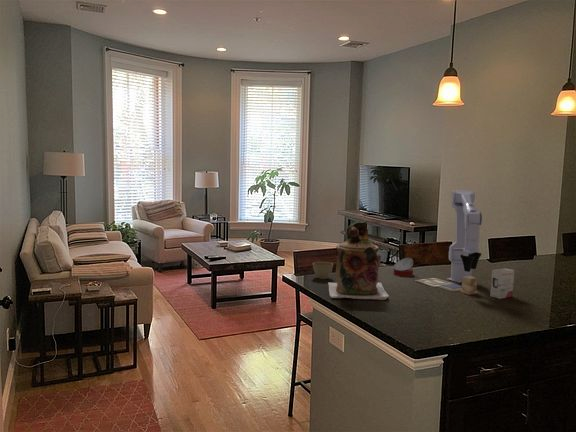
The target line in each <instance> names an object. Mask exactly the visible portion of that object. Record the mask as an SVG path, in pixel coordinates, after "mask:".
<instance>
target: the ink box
mask: <svg viewBox="0 0 576 432" xmlns="http://www.w3.org/2000/svg"><path fill="white" fill-rule="evenodd" d="M490 278H491V280H490V282H491V283H490V296H489V297H493V298H496V299H499V300H501V299H507V298H511V297H513V293H514V291H513V290H514V280H515V279H514V278H515V270H514V269H510V268H506V267H505V268H495V269H491V277H490Z"/></svg>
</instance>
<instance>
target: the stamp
mask: <svg viewBox="0 0 576 432" xmlns="http://www.w3.org/2000/svg"><path fill="white" fill-rule="evenodd" d="M461 286H462V289H461V291H459V292H460V293H461V294H462V293H463V294H466V295H469V296H470V295H471V296H472V295H477V294H478V290H477V289H478V277H474V276H473V275H472V276H465V277H462V282H461Z"/></svg>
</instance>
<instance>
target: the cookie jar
mask: <svg viewBox="0 0 576 432" xmlns="http://www.w3.org/2000/svg"><path fill="white" fill-rule="evenodd" d="M367 222H368V219H365V220H364V221H357V222H353V223H351V224H349V225H348V226H347V229H346V236H347V237H348V238H347V240H345V241H344V242H341V243H339V244H337V245H336V246H335V247H336V250H337V252H338V253H337V261H336V267H335V268H336V269H335V280H336V282H327V285H328V294H329V297H330V298H331V299H345V298H348V299H352V300H355V299H356V300H380V301H385V300H387V299H388V298H389V297H390V295H389V294H388V293H387V291H386V290H385V289H384V288H385V287H384V286H383V283H382V282H379V268H380V266H381V255H380V254H377V253H378V251H379V249H380V248H379V246H378V245H376V244H374V243H373V242H372V241H371V240H370V239H369V236H368V235H369V229H368V225H367Z"/></svg>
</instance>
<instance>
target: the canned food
mask: <svg viewBox="0 0 576 432" xmlns="http://www.w3.org/2000/svg"><path fill="white" fill-rule="evenodd" d="M413 265H414V260H413V259H412V258H411V257H405V258H402V259H400V260H399V261H397V262H395V264H394V265H393V268H392V269H393V275H395V276H398V277H412V276H413V274H414V268H412V267H413Z"/></svg>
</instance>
